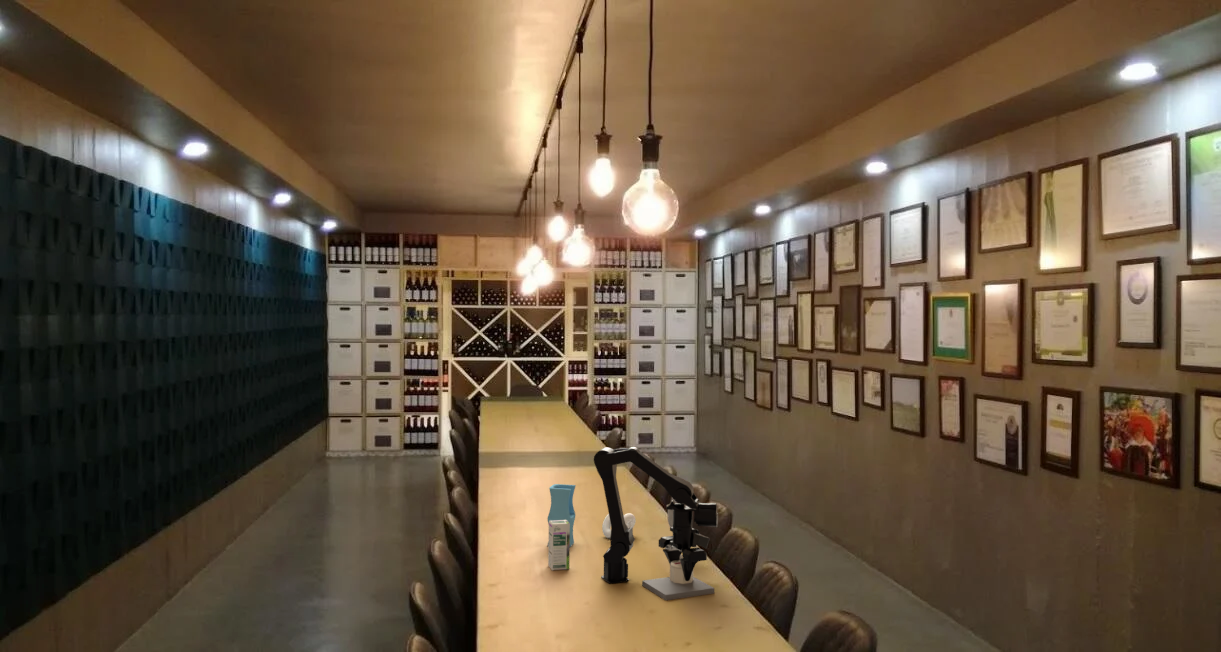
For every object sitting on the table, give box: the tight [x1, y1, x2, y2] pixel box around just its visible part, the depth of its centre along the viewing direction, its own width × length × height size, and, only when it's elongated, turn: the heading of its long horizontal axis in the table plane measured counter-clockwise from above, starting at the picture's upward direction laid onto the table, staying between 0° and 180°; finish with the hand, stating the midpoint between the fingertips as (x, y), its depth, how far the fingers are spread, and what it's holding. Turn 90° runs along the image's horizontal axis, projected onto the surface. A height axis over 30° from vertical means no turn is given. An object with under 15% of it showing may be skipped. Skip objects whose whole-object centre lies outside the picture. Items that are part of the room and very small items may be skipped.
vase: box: [547, 483, 576, 548], centre depth 289 cm, size 8×8×20 cm
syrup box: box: [547, 520, 571, 571], centre depth 262 cm, size 6×6×14 cm
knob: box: [669, 560, 695, 584], centre depth 246 cm, size 7×7×5 cm
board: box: [641, 576, 715, 601], centre depth 242 cm, size 16×14×5 cm
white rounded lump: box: [601, 512, 637, 540], centre depth 299 cm, size 11×12×9 cm
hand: (681, 577), depth 246 cm, fingers closed on knob, 6 cm apart
